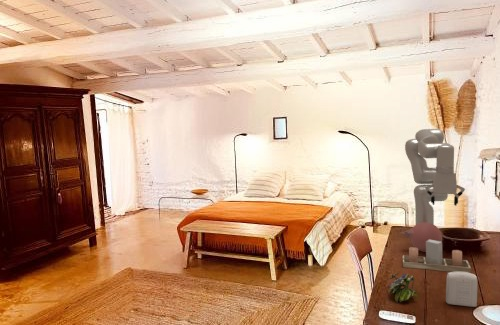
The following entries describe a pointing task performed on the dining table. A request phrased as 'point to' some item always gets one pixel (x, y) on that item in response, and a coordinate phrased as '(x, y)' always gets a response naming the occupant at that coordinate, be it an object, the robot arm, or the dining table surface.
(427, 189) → the robot arm
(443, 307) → the dining table surface
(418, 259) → the grey divided tray
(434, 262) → the skincare box
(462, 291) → the grey speaker
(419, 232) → the balloon
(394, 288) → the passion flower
